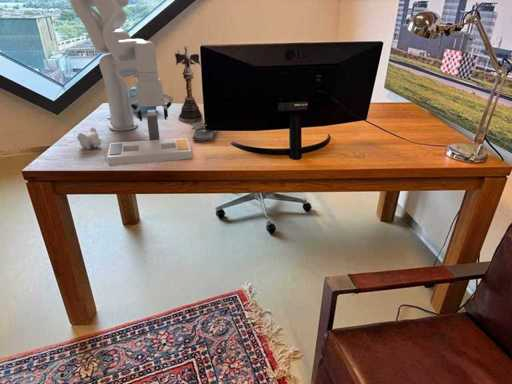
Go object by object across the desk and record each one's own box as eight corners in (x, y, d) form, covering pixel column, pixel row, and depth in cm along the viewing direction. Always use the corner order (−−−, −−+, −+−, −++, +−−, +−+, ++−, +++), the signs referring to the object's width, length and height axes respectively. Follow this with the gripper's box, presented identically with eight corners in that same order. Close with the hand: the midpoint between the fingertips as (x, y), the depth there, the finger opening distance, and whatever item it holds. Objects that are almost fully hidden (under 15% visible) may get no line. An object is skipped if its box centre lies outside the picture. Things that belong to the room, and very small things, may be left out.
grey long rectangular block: (150, 144, 148) (146, 112, 142) (149, 140, 152) (146, 109, 145) (160, 143, 149) (156, 112, 143) (159, 140, 153) (156, 109, 146)
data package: (131, 112, 184) (128, 88, 178) (133, 109, 188) (130, 86, 182) (155, 112, 185) (153, 89, 179) (156, 110, 189) (154, 87, 183)
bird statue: (178, 112, 187) (172, 40, 169) (203, 112, 188) (200, 41, 170) (173, 122, 173) (167, 45, 155) (201, 123, 174) (198, 46, 156)
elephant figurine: (95, 152, 139) (92, 135, 136) (75, 149, 142) (71, 132, 138) (108, 145, 146) (105, 129, 142) (88, 142, 148) (84, 125, 145)
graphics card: (191, 122, 165) (217, 122, 165) (191, 129, 167) (217, 130, 167) (185, 135, 151) (213, 136, 151) (185, 144, 153) (213, 144, 153)
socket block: (108, 165, 130) (107, 156, 129) (111, 150, 142) (109, 142, 140) (191, 158, 138) (191, 150, 136) (187, 144, 150) (187, 137, 148)
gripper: (123, 78, 132) (130, 123, 140) (171, 77, 136) (175, 120, 144) (124, 75, 138) (131, 118, 146) (170, 73, 142) (174, 115, 150)
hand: (153, 119), depth 145 cm, fingers open, 9 cm apart
